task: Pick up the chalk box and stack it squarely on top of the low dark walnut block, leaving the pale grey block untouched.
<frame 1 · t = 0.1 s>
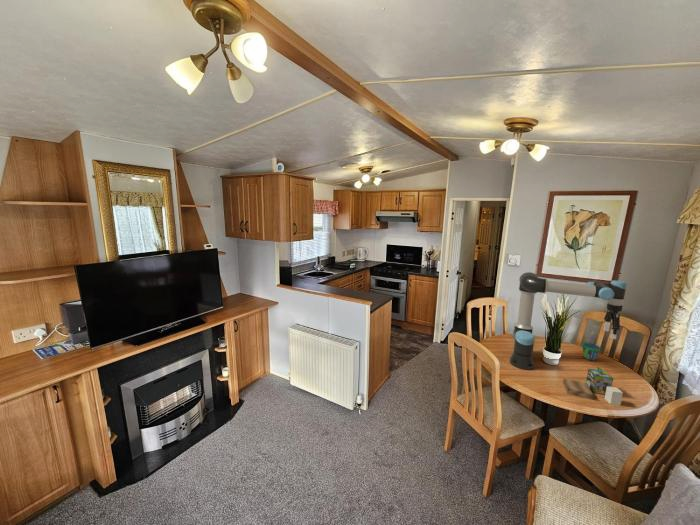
hand: (609, 334, 193), 28 cm above the table, fingers open, 13 cm apart
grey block: (612, 402, 167), on the table
snack cup: (589, 358, 218), on the table
chalk box: (597, 390, 178), on the table
walnut block: (576, 391, 176), on the table
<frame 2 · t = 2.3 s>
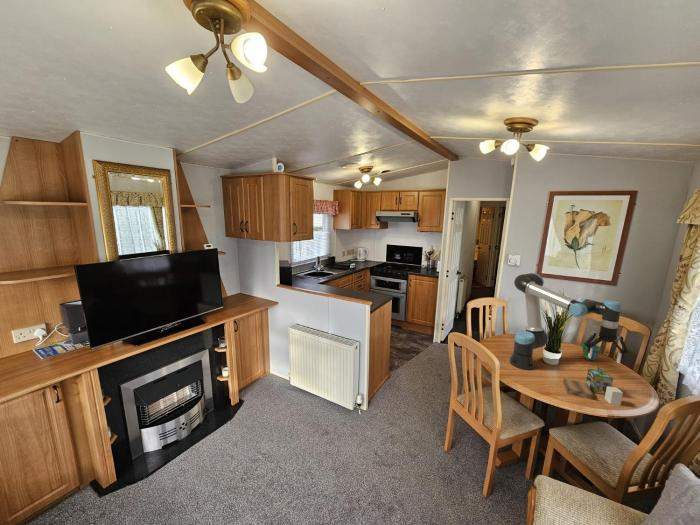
hand: (603, 360, 175), 20 cm above the table, fingers open, 13 cm apart
nothing on the table moved.
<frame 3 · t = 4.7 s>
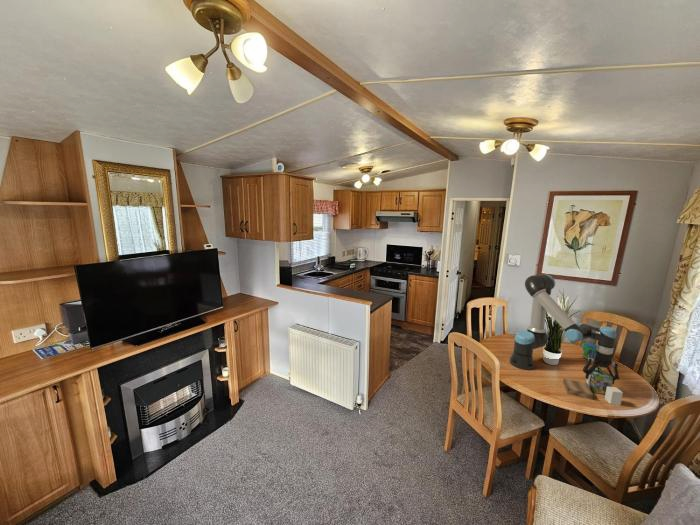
hand: (598, 385, 178), 3 cm above the table, fingers closed on chalk box, 10 cm apart
chalk box: (597, 390, 178), on the table, touching gripper
everything else where it was.
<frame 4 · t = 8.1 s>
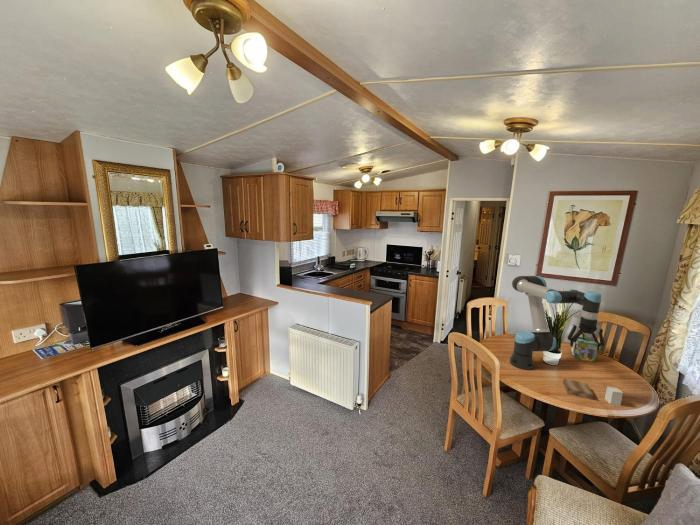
hand: (583, 353, 172), 25 cm above the table, fingers closed on chalk box, 10 cm apart
chalk box: (582, 358, 173), point 22 cm above the table, touching gripper
everything else where it was.
when the fingers open (8 cm above the table, at t = 11.9 s): chalk box drops 2 cm, resting on walnut block.
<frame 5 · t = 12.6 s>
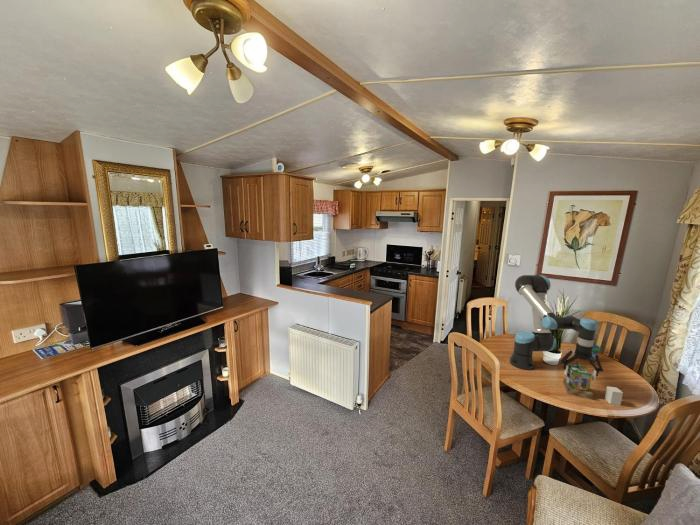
hand: (579, 377, 175), 9 cm above the table, fingers open, 13 cm apart
chalk box: (576, 386, 176), point 3 cm above the table, touching walnut block
walnut block: (576, 392, 176), on the table, touching chalk box
everything else where it was.
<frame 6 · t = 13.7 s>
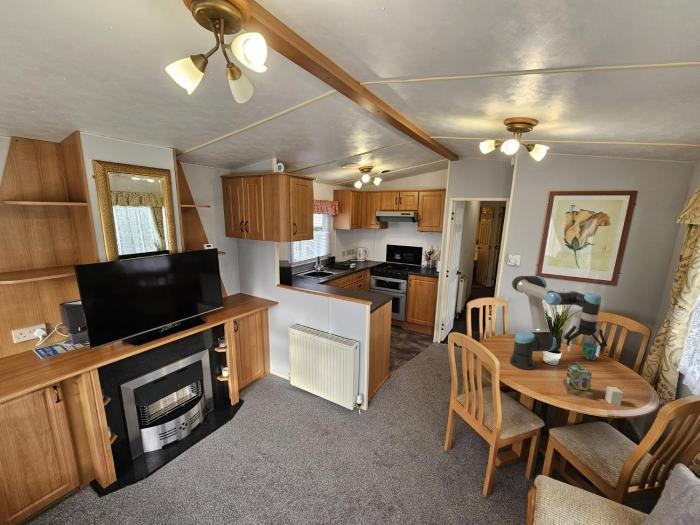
hand: (582, 353, 172), 25 cm above the table, fingers open, 13 cm apart
chalk box: (577, 386, 175), point 3 cm above the table
walnut block: (576, 392, 176), on the table
everything else where it was.
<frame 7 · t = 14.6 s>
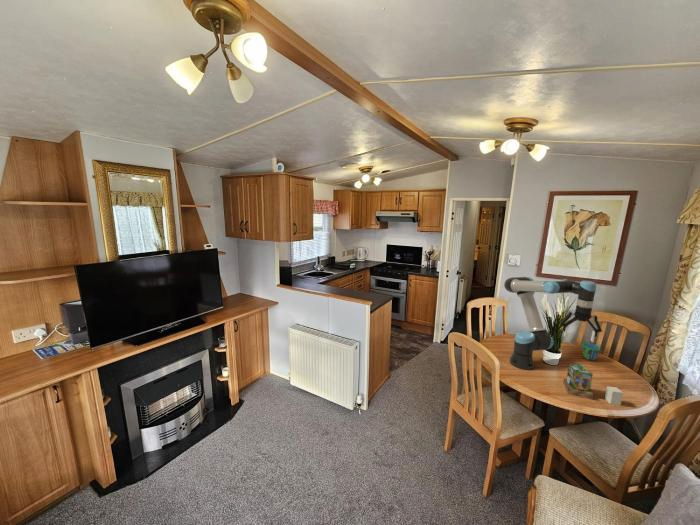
hand: (578, 338, 179), 30 cm above the table, fingers open, 13 cm apart
nothing on the table moved.
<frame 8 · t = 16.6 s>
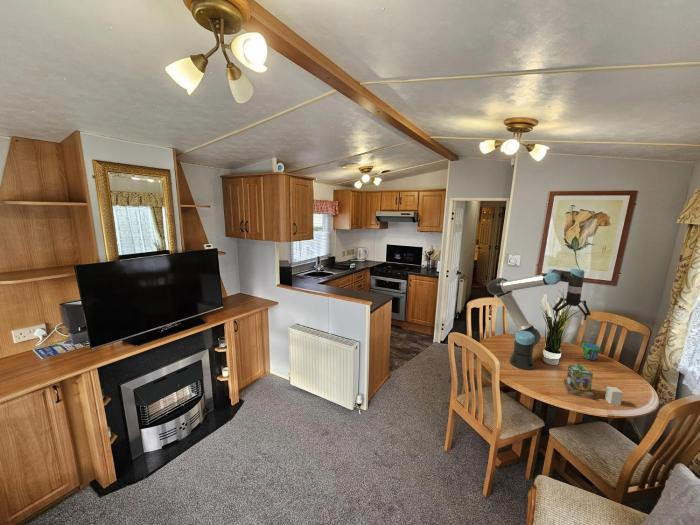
hand: (569, 322, 195), 35 cm above the table, fingers open, 13 cm apart
nothing on the table moved.
at the end: chalk box inside the target area on the walnut block (0.8 cm from its centre), point 3.8 cm above the walnut block's base; chalk box tilted 0°; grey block moved 0.1 cm from its start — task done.
